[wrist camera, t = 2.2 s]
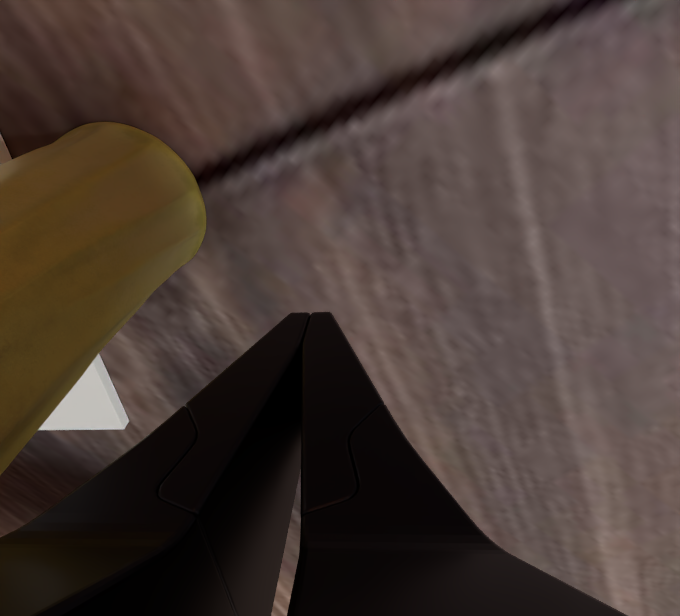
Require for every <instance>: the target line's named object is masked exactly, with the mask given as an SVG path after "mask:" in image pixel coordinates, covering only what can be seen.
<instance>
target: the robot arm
mask: <svg viewBox="0 0 680 616" xmlns="http://www.w3.org/2000/svg"><path fill="white" fill-rule="evenodd" d="M300 469H301V535H300V553H299V559H298V564H297V569H296V574H295V579H294V584H293V589H292V594H291V599H290V604H289V609H288V613H287V616H627V615H625V614H624V613H622V612H620V611H618V610H616V609H614V608H612V607H610V606H608V605H606V604H604V603H603V602H601V601H599V600H597V599H595V598H593V597H591V596H589V595H587V594H585V593H583V592H582V591H580V590H578V589H576V588H574V587H572V586H570V585H568V584H566V583H564V582H563V581H561V580H559V579H557V578H555V577H553V576H551V575H549V574H547V573H545V572H543V571H542V570H540V569H538V568H536V567H534V566H532V565H530V564H528V563H526V562H524V561H522V560H521V559H519V558H517V557H515V556H513V555H511V554H509V553H508V552H506V551H505V550H503V549H502V548H500V547H499V546H498V545H496V544H495V543H494V542H493V541H492V540H491V539H489V538H488V537H487V536H486V535H485V534H484V533H483V532H482V531H481V530H480V529H479V528H478V527H477V526H476V524H475V523H474V522H473V521H472V520H471V519H470V517H469V516H468V515H467V514H466V512H465V511H464V510H463V509H462V508H461V506H460V505H459V504H458V503H457V501H456V500H455V499H454V498H453V497H452V495H451V494H450V493H449V492H448V490H447V489H446V488H445V487H444V485H443V484H442V483H441V482H440V481H439V479H438V478H437V477H436V476H435V474H434V473H433V472H432V471H431V470H430V468H429V467H428V466H427V465H426V463H425V462H424V461H423V460H422V458H421V457H420V456H419V454H418V453H417V452H416V450H415V449H414V448H413V447H412V445H411V444H410V443H409V441H408V440H407V439H406V437H405V436H404V434H403V433H402V431H401V429H400V428H399V426H398V425H397V423H396V422H395V420H394V419H393V417H392V415H391V413H390V412H389V410H388V408H387V407H386V405H384V402H383V400H382V398H381V397H380V395H379V393H378V392H377V390H376V388H375V387H374V385H373V383H372V381H371V380H370V378H369V376H368V375H367V373H366V371H365V369H364V368H363V366H362V364H361V363H360V361H359V359H358V357H357V356H356V354H355V352H354V351H353V349H352V347H351V345H350V344H349V342H348V340H347V339H346V337H345V335H344V333H343V332H342V330H341V328H340V327H339V325H338V323H337V321H336V320H335V318H334V316H333V315H332V313H330V312H314V313H312V314H311V315H310V313H307V312H306V313H290V314H289V315H288V316H287V317H285V318H284V319H283V320H282V321H281V322H280V323H278V324H277V325H276V326H275V327H274V328H273V329H272V330H270V331H269V332H268V333H267V334H266V335H265V336H263V337H262V338H261V339H260V340H259V341H258V342H257V343H255V344H254V345H253V346H252V347H251V348H250V349H248V350H247V351H246V352H245V353H244V354H243V355H242V356H240V357H239V358H238V359H237V360H236V361H235V362H233V363H232V364H231V365H230V366H229V367H228V368H226V369H225V370H224V371H223V372H222V373H221V374H220V375H218V376H217V377H216V378H215V379H214V380H213V381H211V382H210V383H209V384H208V385H207V386H206V387H205V388H203V389H202V390H201V391H200V392H199V393H198V394H196V395H195V396H194V397H193V398H192V399H191V400H190V401H188V402H187V403H186V407H185V406H183V407H181V408H180V409H179V410H178V411H177V412H175V413H174V414H173V415H172V416H171V417H170V418H169V419H167V420H166V421H165V422H164V423H162V424H161V425H160V426H159V427H158V428H156V429H155V430H154V431H153V432H152V433H150V434H149V435H148V436H147V437H146V438H144V439H143V440H142V441H140V442H139V443H138V444H136V445H135V446H134V447H132V448H131V449H130V450H128V451H127V452H126V453H124V454H123V455H122V456H120V457H119V458H118V459H117V460H115V461H114V462H112V463H111V464H110V465H108V466H107V467H106V468H104V469H103V470H101V471H100V472H99V473H97V474H96V475H95V476H93V477H92V478H90V479H89V480H88V481H86V482H85V483H84V484H82V485H81V486H79V487H78V488H77V489H75V490H74V491H73V492H71V493H70V494H68V495H67V496H66V497H64V498H63V499H62V500H60V501H59V502H58V503H56V504H55V505H53V506H52V507H51V508H49V509H48V510H47V511H45V512H44V513H42V514H41V515H39V516H38V517H36V518H35V519H33V520H32V521H31V522H29V523H27V524H26V525H24V526H22V527H20V528H19V529H17V530H15V531H13V532H11V533H9V534H7V535H5V536H2V537H0V616H271V612H272V607H273V602H274V597H275V592H276V587H277V582H278V578H279V573H280V568H281V563H282V558H283V553H284V548H285V543H286V538H287V533H288V528H289V523H290V518H291V513H292V508H293V503H294V498H295V493H296V488H297V484H298V479H299V474H300Z"/></svg>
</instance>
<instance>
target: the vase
mask: <svg viewBox="0 0 680 616" xmlns="http://www.w3.org/2000/svg"><path fill="white" fill-rule="evenodd" d="M205 231H206V210H205V205H204V201H203V198H202V195H201V192H200V190H199V187H198V184H197V182H196V180H195V177H194V176H193V174H192V172H191V171H190V169H189V168H188V167H187V165H186V164H185V163H184V161H183V160H182V159H181V158H180V157H179V156H178V155H177V154H176V153H175V152H174V151H173V150H172V149H171V148H170V147H169V146H167V145H166V144H165V143H164V142H162V141H161V140H159V139H158V138H156V137H155V136H153V135H151V134H149V133H147V132H145V131H142V130H140V129H137V128H135V127H132V126H129V125H125V124H121V123H115V122H95V123H90V124H85V125H82V126H79V127H77V128H75V129H73V130H72V131H70V132H68V133H66V134H65V135H63V136H62V137H60V138H59V139H58V140H57V141H55V142H54V143H52V144H50V145H47V146H44V147H41V148H38V149H36V150H33V151H31V152H28V153H26V154H23V155H21V156H19V157H17V158H15V159H12V160H10V161H8V162H6V163H4V164H2V165H0V476H1V474H2V473H3V472H4V471H5V469H6V468H7V467H8V466H9V464H10V463H11V462H12V461H13V460H14V458H15V457H16V456H17V455H18V453H19V452H20V451H21V450H22V449H23V447H24V446H25V445H26V444H27V443H28V441H29V440H30V439H31V438H32V437H33V435H34V434H35V433H36V432H37V430H38V429H39V428H40V427H41V426H42V424H43V423H44V422H45V421H46V420H47V418H48V417H49V416H50V415H51V413H52V412H53V411H54V410H55V409H56V407H57V406H58V405H59V404H60V402H61V401H62V400H63V399H64V398H65V396H66V395H67V394H68V393H69V391H70V390H71V389H72V388H73V387H74V385H75V384H76V383H77V381H78V380H79V379H80V378H81V376H82V375H83V374H84V372H85V371H86V370H87V368H88V367H89V366H90V364H91V363H92V362H93V360H94V359H95V358H96V356H97V355H98V354H99V352H100V351H101V350H102V349H103V347H104V346H105V345H106V344H107V343H108V342H109V341H110V340H111V338H112V337H113V336H114V335H115V334H116V333H117V332H118V331H119V330H120V329H121V328H122V327H123V326H124V324H125V323H126V322H127V321H128V320H129V319H130V318H131V317H132V316H133V315H134V314H135V313H136V311H137V310H138V309H139V308H140V307H141V306H142V305H143V303H144V302H145V301H146V300H147V299H148V297H149V296H150V295H151V294H152V293H153V292H154V291H155V290H156V289H157V288H158V287H159V286H160V285H161V284H163V283H164V282H165V281H166V280H167V279H168V278H169V277H170V276H171V275H172V274H173V273H174V272H175V271H176V270H178V269H179V268H180V267H182V266H183V265H185V264H186V263H187V262H188V261H190V260H191V259H192V258H193V257H194V256H195V254H196V253H197V251H198V249H199V248H200V245H201V243H202V241H203V238H204V235H205Z"/></svg>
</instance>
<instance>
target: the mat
mask: <svg viewBox="0 0 680 616" xmlns="http://www.w3.org/2000/svg"><path fill="white" fill-rule="evenodd" d="M10 160H12V158H11V156H10V154H9V151H8V149H7V147H6V145H5V142H4V140H3V138H2V136H1V133H0V165H2V164H4V163H6V162H8V161H10ZM128 422H129V419H128V417H127V415H126V413H125V410H124V408H123V406H122V404H121V402H120V399H119V397H118V395H117V393H116V390H115V388H114V386H113V384H112V381H111V379H110V377H109V375H108V372H107V370H106V368H105V366H104V364H103V361H102V359H101V357H100V355H99V354H98V355H97V356H96V358H95V359H94V360H93V362H92V363H91V364H90V366H89V367H88V368H87V370H86V371H85V372H84V374H83V375H82V376H81V378H80V379H79V380H78V381H77V383H76V384H75V385H74V387H73V388H72V389H71V390H70V391H69V393H68V394H67V395H66V396H65V398H64V399H63V400H62V401H61V402H60V404H59V405H58V406H57V407H56V409H55V410H54V411H53V412H52V413H51V415H50V416H49V417H48V418H47V420H46V421H45V422H44V423H43V424H42V426H41V427H40V428H39V429H38V430H105V429H125V427H126V425H127V424H128Z"/></svg>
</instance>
